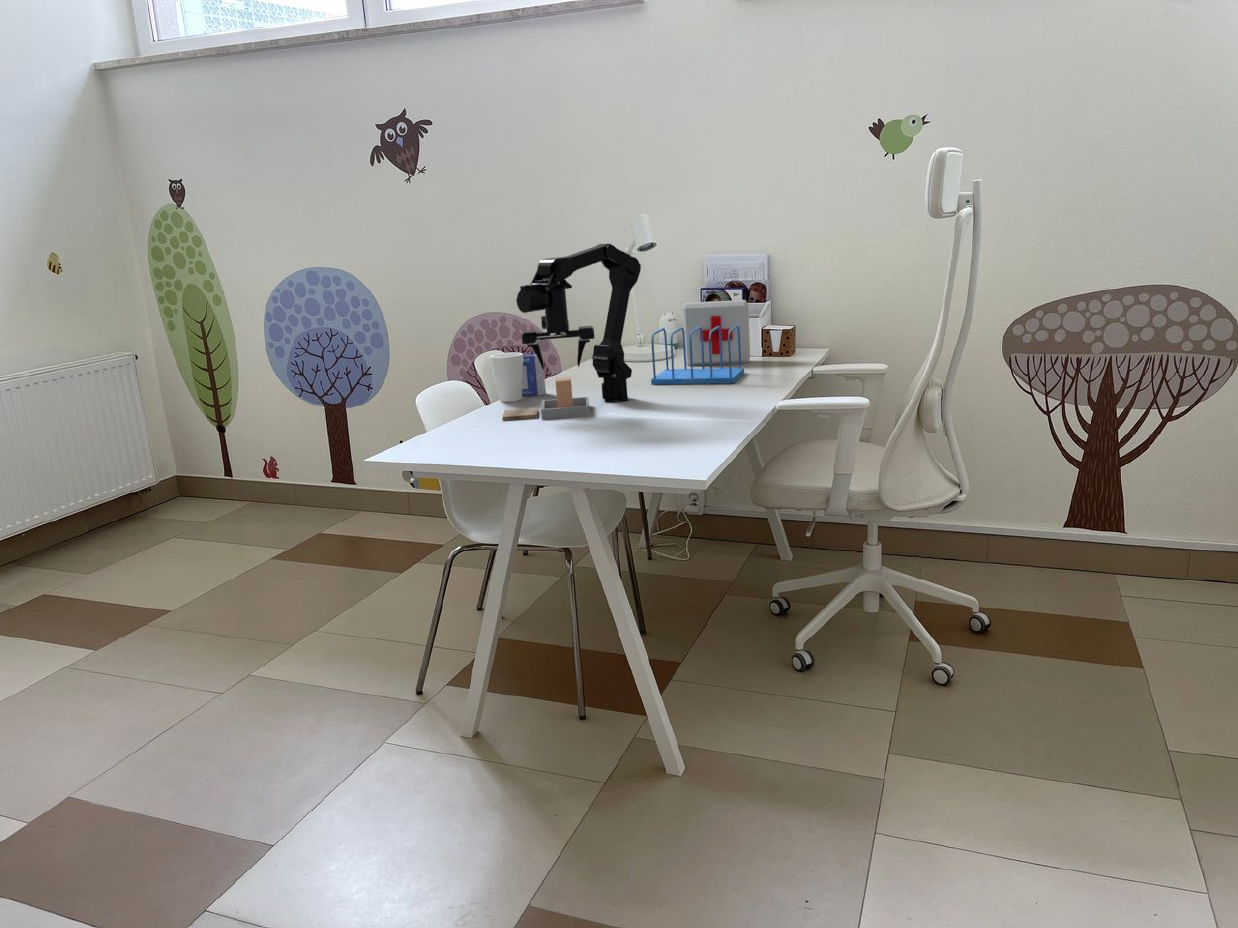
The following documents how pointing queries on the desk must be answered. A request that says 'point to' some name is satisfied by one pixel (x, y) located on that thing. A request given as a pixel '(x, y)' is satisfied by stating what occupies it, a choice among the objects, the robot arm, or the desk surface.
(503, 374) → the foam cup
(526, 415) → the coaster
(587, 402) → the tray
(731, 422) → the desk surface
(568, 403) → the block
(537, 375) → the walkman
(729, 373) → the file sorter
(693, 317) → the bevelled white case
